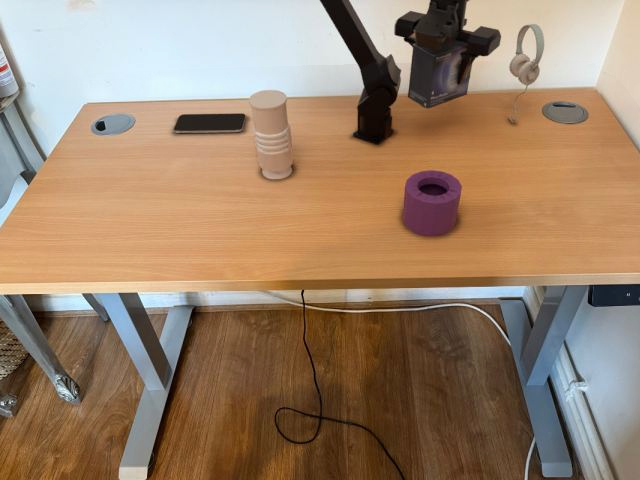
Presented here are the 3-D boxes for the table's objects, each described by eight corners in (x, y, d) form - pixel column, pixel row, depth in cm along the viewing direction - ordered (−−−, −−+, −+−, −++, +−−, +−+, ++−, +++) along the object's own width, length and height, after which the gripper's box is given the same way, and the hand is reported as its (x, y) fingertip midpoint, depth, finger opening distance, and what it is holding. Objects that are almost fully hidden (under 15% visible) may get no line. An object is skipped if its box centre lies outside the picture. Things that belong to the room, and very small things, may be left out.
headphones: (529, 130, 113) (554, 32, 98) (512, 133, 112) (535, 35, 98) (512, 111, 119) (533, 16, 104) (495, 114, 118) (514, 19, 104)
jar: (392, 223, 93) (395, 190, 88) (420, 197, 98) (423, 164, 93) (439, 243, 89) (444, 210, 84) (465, 215, 94) (471, 181, 89)
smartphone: (241, 129, 115) (172, 130, 115) (242, 132, 115) (173, 133, 116) (245, 113, 120) (179, 114, 120) (246, 115, 120) (180, 116, 121)
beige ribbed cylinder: (287, 183, 102) (279, 110, 91) (254, 177, 104) (242, 105, 93) (299, 163, 107) (293, 92, 96) (267, 158, 108) (257, 87, 97)
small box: (427, 111, 101) (434, 55, 93) (406, 97, 105) (410, 43, 97) (469, 95, 105) (478, 40, 97) (446, 83, 109) (453, 29, 101)
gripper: (380, -6, 90) (377, 83, 102) (482, 15, 83) (467, 109, 94) (412, -24, 97) (406, 62, 108) (510, -6, 89) (493, 84, 100)
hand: (440, 78), depth 102 cm, fingers closed on small box, 7 cm apart
